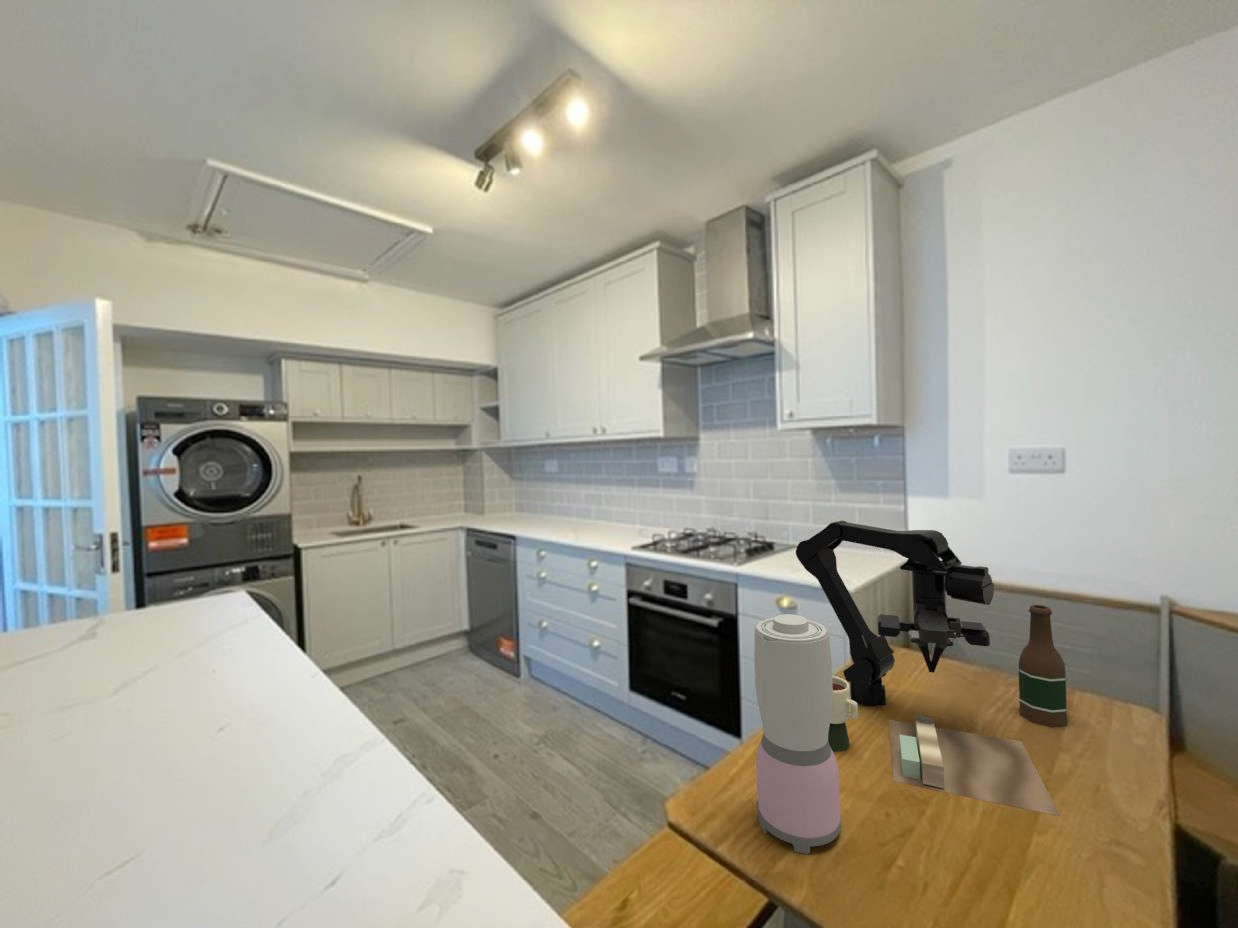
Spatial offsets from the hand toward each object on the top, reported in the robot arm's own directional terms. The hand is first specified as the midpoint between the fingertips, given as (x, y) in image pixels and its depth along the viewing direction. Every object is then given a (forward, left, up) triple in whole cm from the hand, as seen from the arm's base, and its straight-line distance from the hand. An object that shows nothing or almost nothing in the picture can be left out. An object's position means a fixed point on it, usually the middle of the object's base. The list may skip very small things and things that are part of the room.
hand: (931, 671), depth 102 cm
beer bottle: (+20, +10, -12) cm, 25 cm away
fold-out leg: (-2, -14, -10) cm, 17 cm away
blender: (-21, -35, -12) cm, 43 cm away
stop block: (-5, -16, -10) cm, 20 cm away
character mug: (-18, -14, -12) cm, 26 cm away
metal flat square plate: (+3, -12, -12) cm, 17 cm away
